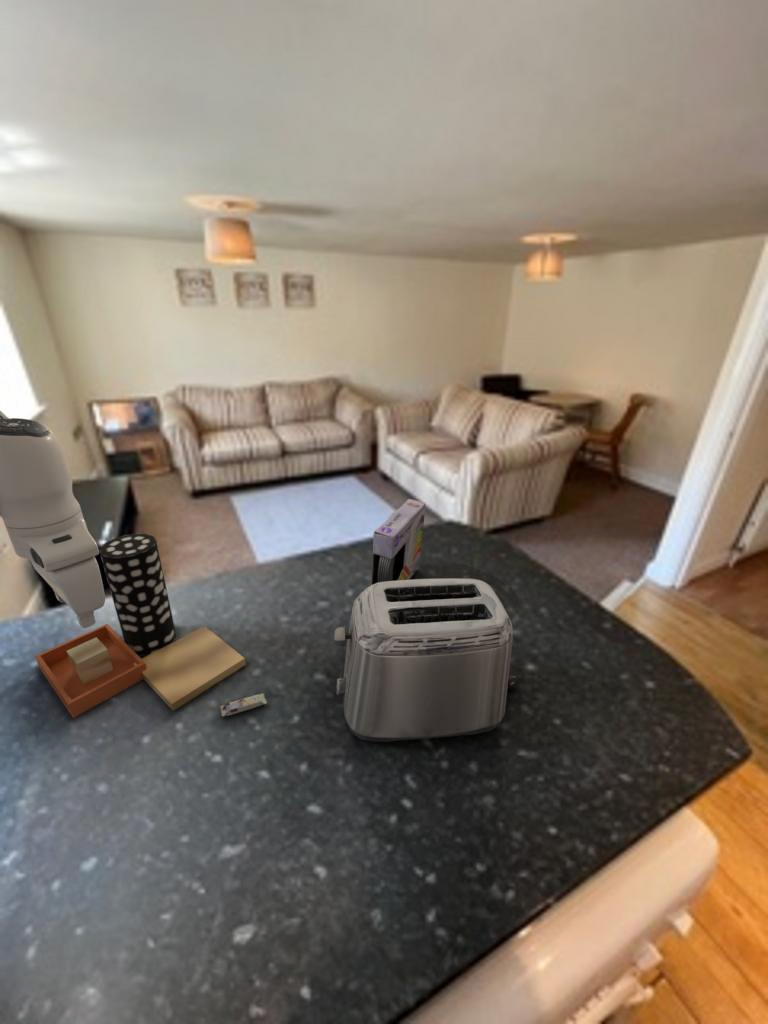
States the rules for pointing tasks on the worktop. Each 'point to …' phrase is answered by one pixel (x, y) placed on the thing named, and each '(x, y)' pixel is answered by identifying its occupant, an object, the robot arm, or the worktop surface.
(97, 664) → the block
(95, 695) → the orange-brown tray
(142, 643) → the white-spotted black cylinder
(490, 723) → the toaster
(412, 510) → the cake pan box
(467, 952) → the worktop surface
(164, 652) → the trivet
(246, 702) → the granola bar
